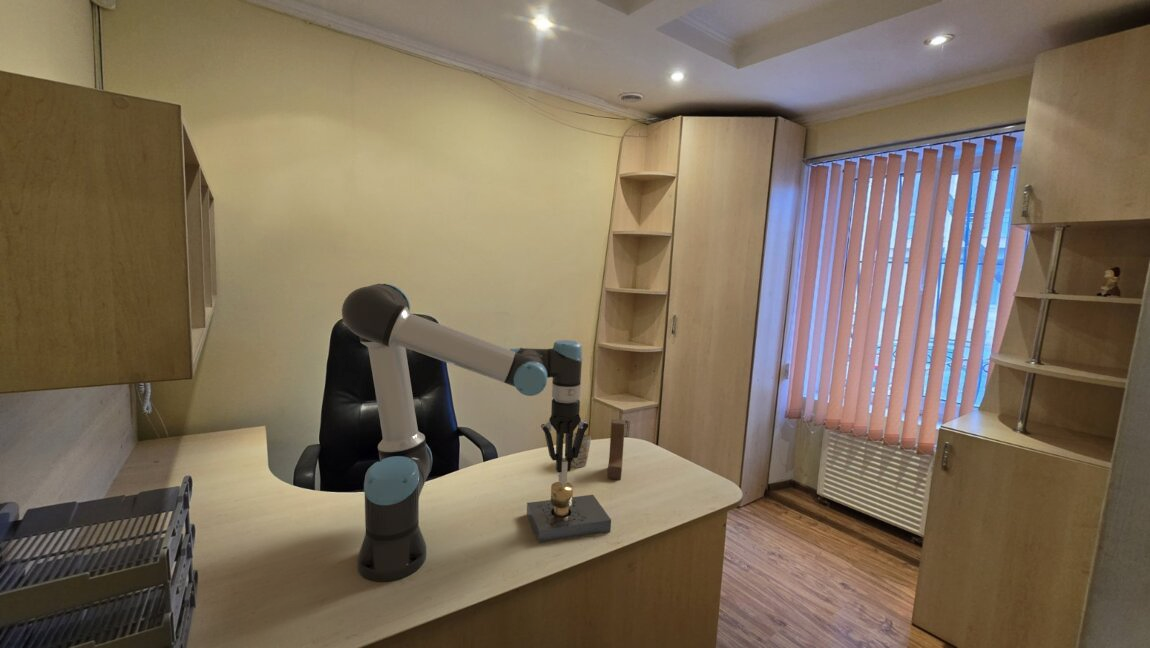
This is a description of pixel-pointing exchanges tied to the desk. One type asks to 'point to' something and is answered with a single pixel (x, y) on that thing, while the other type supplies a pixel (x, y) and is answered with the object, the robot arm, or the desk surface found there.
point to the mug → (581, 451)
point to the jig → (568, 519)
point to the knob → (561, 498)
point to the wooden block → (616, 449)
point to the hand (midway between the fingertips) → (562, 482)
